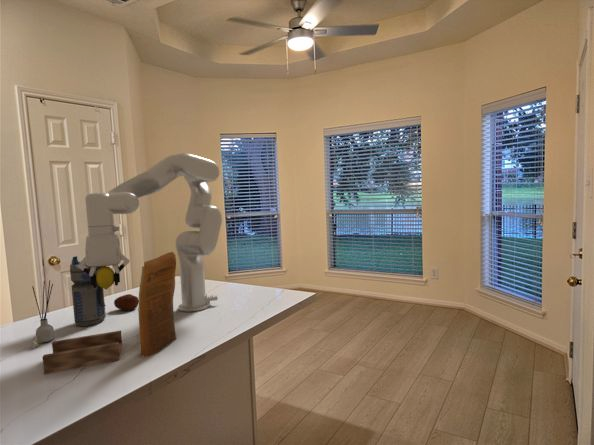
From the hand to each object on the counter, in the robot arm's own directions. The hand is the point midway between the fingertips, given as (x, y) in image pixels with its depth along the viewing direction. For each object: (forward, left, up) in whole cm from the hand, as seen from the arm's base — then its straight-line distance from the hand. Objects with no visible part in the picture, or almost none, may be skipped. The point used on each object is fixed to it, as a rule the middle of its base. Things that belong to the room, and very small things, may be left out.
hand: (106, 285), depth 119 cm
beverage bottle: (+8, -20, -18) cm, 28 cm away
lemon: (0, 0, -2) cm, 2 cm away
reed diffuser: (+19, -5, -18) cm, 26 cm away
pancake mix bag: (-15, +16, -18) cm, 29 cm away
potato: (-3, -31, -18) cm, 36 cm away
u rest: (+5, +15, -17) cm, 24 cm away
